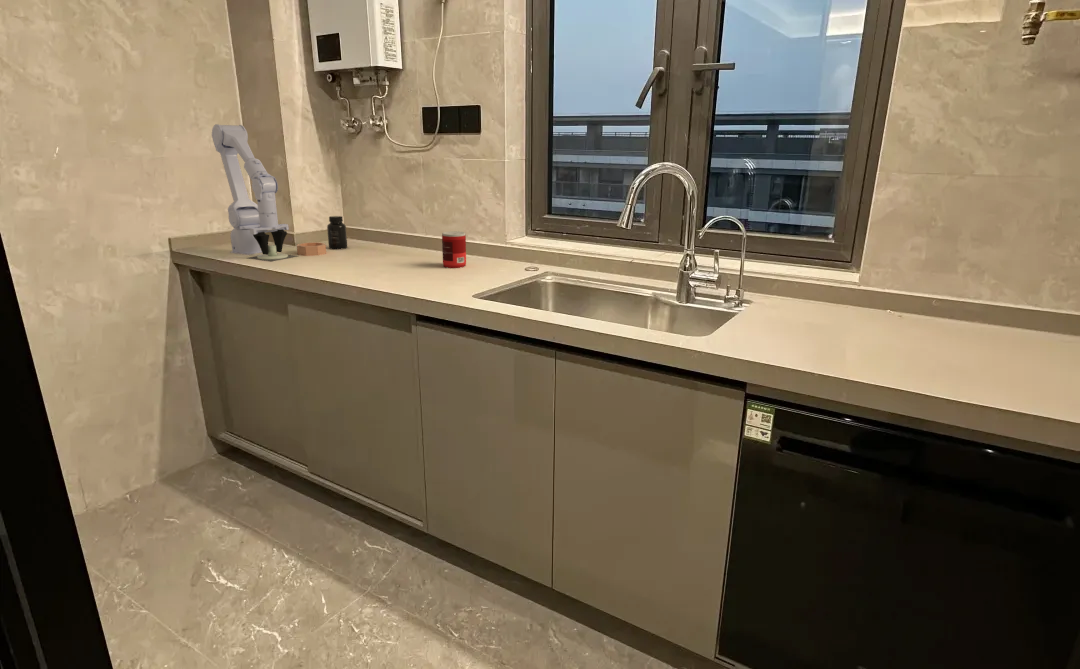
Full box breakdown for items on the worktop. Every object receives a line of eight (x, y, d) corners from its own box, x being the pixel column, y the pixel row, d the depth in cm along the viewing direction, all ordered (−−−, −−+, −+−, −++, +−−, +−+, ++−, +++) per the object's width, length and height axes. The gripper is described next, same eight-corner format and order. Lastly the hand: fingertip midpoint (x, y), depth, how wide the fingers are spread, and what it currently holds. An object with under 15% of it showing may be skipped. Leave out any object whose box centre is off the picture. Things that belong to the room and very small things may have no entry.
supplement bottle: (351, 247, 238) (349, 216, 235) (337, 250, 233) (334, 217, 229) (339, 246, 242) (336, 215, 238) (324, 248, 236) (322, 216, 233)
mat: (246, 259, 212) (245, 258, 212) (274, 254, 222) (274, 253, 222) (271, 262, 207) (270, 261, 207) (299, 257, 217) (298, 256, 217)
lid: (250, 257, 212) (249, 246, 211) (274, 253, 221) (272, 242, 220) (271, 260, 208) (270, 248, 207) (294, 256, 217) (293, 244, 215)
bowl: (292, 254, 221) (291, 245, 220) (312, 251, 230) (311, 241, 229) (311, 257, 217) (310, 247, 216) (332, 253, 226) (331, 243, 225)
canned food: (468, 264, 210) (467, 231, 207) (463, 268, 202) (462, 234, 199) (446, 263, 211) (445, 231, 208) (440, 267, 203) (439, 234, 200)
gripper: (258, 215, 202) (263, 257, 206) (293, 212, 214) (297, 251, 218) (243, 214, 205) (248, 255, 209) (278, 210, 217) (282, 249, 221)
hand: (272, 253), depth 214 cm, fingers open, 5 cm apart
